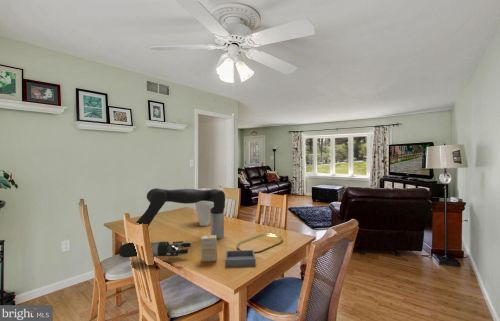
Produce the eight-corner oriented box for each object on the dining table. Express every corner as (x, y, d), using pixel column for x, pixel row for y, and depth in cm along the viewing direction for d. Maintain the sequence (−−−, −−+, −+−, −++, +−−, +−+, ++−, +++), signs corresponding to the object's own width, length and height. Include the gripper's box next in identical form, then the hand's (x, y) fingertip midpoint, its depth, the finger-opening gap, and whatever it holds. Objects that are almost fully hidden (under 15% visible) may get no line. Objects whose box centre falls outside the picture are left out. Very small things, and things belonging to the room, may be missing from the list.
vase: (200, 228, 187) (199, 191, 186) (192, 224, 198) (191, 189, 197) (216, 224, 196) (216, 189, 195) (208, 220, 207) (207, 187, 206)
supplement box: (217, 257, 135) (217, 234, 135) (216, 261, 131) (216, 238, 130) (202, 258, 135) (202, 235, 135) (201, 262, 130) (200, 238, 130)
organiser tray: (226, 256, 136) (226, 250, 136) (253, 255, 137) (253, 249, 137) (225, 266, 125) (225, 260, 125) (255, 265, 126) (255, 259, 126)
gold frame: (288, 240, 161) (288, 238, 161) (251, 257, 137) (251, 254, 137) (267, 234, 175) (267, 231, 175) (230, 247, 150) (230, 245, 150)
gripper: (154, 247, 124) (186, 246, 125) (162, 237, 138) (191, 236, 139) (154, 261, 124) (186, 260, 125) (163, 250, 138) (191, 249, 139)
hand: (189, 247), depth 132 cm, fingers open, 8 cm apart
